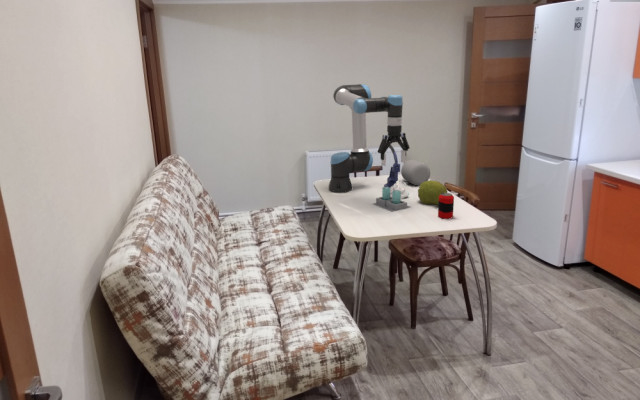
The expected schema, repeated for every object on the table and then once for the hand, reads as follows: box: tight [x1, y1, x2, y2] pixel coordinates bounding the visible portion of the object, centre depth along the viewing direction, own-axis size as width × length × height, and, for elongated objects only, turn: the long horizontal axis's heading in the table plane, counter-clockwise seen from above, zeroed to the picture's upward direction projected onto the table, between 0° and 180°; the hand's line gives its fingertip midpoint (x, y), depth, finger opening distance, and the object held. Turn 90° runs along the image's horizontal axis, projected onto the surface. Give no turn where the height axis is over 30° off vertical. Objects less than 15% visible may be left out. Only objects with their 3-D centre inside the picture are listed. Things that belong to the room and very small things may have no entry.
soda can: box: [437, 192, 455, 220], centre depth 241 cm, size 8×8×12 cm
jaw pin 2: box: [392, 190, 402, 204], centre depth 256 cm, size 4×4×9 cm
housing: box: [372, 196, 412, 213], centre depth 260 cm, size 18×14×4 cm
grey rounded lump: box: [400, 159, 431, 187], centre depth 310 cm, size 19×15×25 cm
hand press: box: [383, 144, 401, 188], centre depth 295 cm, size 19×9×28 cm, turn 10°
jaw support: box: [390, 182, 410, 200], centre depth 275 cm, size 12×9×10 cm
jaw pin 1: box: [381, 186, 390, 201], centre depth 263 cm, size 4×4×9 cm
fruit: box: [417, 179, 448, 206], centre depth 262 cm, size 16×14×15 cm
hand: (393, 163), depth 255 cm, fingers open, 13 cm apart
